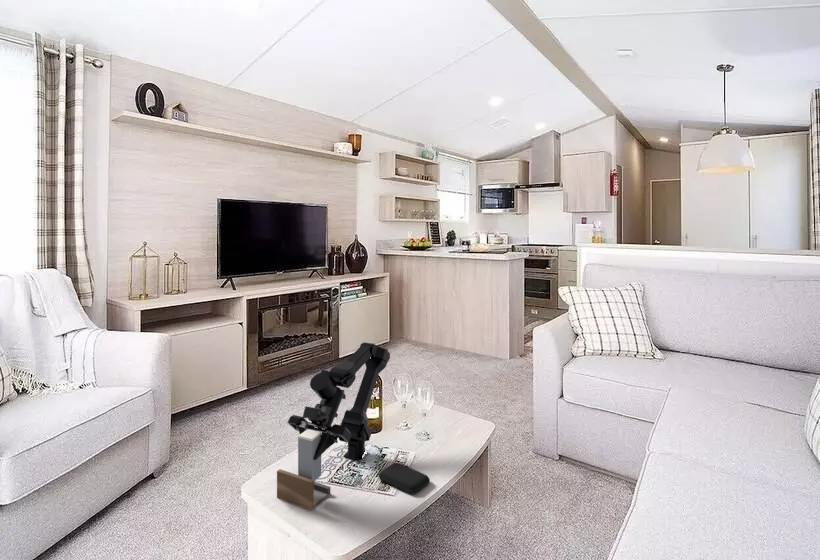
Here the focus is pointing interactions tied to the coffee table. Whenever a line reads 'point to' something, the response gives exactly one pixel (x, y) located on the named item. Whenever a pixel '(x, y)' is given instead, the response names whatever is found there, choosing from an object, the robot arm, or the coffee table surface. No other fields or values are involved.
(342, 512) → the coffee table surface
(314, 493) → the stand
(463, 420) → the coffee table surface
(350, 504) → the coffee table surface
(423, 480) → the carrying case or bag
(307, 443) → the white tall block
